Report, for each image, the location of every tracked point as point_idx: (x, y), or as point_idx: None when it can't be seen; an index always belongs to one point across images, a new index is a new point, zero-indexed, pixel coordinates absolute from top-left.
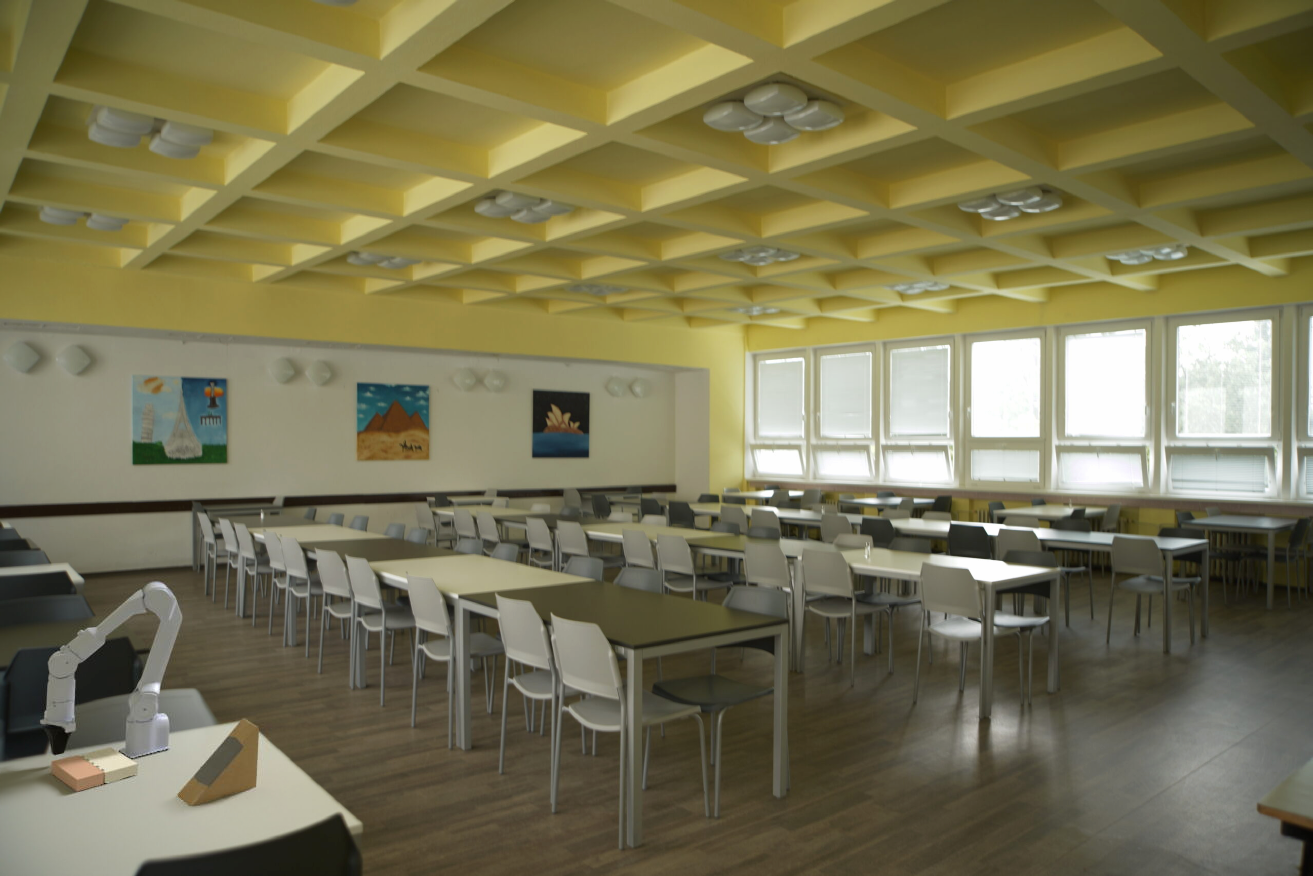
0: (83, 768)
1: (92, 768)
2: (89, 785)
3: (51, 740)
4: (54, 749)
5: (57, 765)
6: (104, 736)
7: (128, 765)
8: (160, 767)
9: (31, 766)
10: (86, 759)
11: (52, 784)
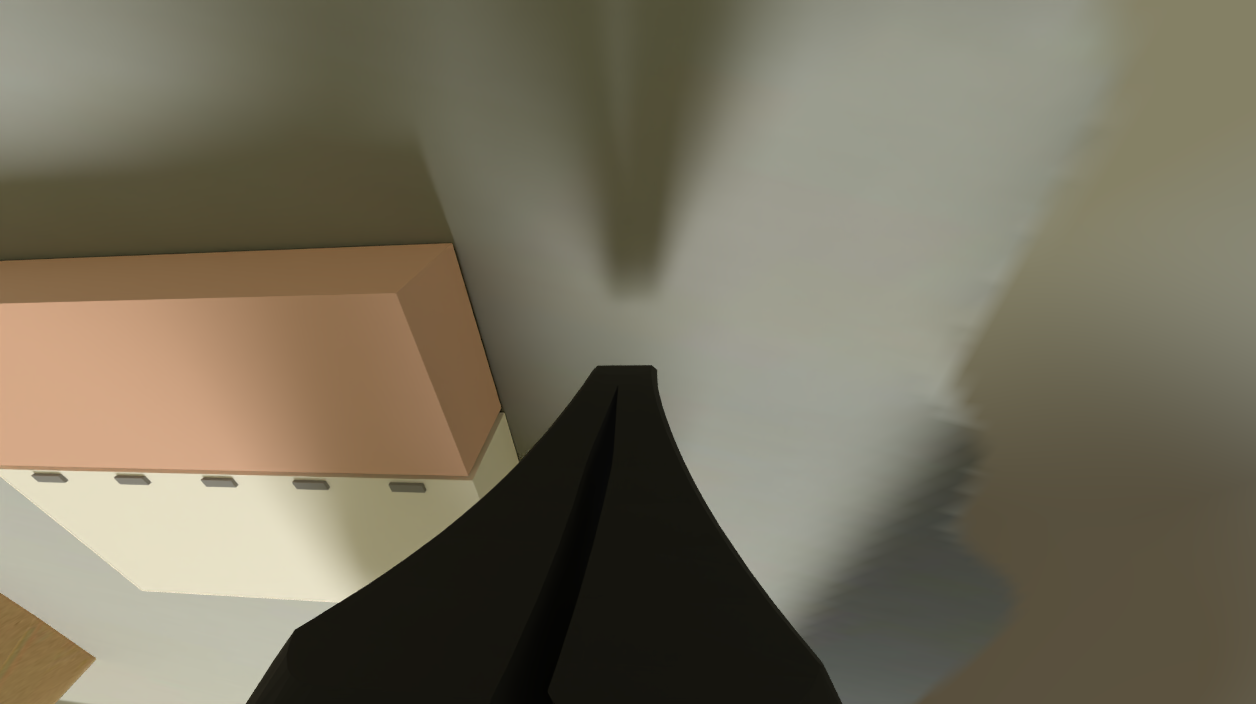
0: (90, 414)
1: (79, 450)
2: None
3: (561, 488)
4: (567, 409)
5: (227, 298)
6: (948, 627)
7: (121, 566)
8: None
9: (784, 158)
10: (324, 482)
11: (155, 173)
